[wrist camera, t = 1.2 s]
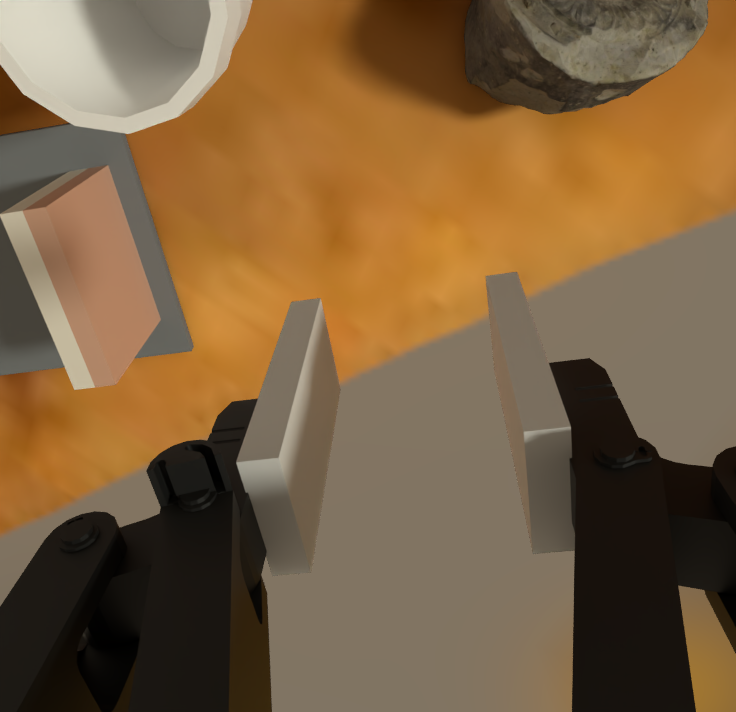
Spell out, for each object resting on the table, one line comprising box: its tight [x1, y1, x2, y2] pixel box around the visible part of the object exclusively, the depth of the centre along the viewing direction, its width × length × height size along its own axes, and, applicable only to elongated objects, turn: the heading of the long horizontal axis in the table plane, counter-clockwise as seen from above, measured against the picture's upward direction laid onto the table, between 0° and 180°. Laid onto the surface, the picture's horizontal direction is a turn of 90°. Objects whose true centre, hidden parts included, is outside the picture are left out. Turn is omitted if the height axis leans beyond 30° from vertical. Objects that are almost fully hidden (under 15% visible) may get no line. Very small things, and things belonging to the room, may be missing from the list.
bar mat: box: [0, 123, 194, 375], centre depth 44 cm, size 15×18×1 cm
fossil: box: [464, 0, 708, 114], centre depth 34 cm, size 11×9×10 cm
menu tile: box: [0, 165, 161, 390], centre depth 40 cm, size 10×2×8 cm, turn 10°
